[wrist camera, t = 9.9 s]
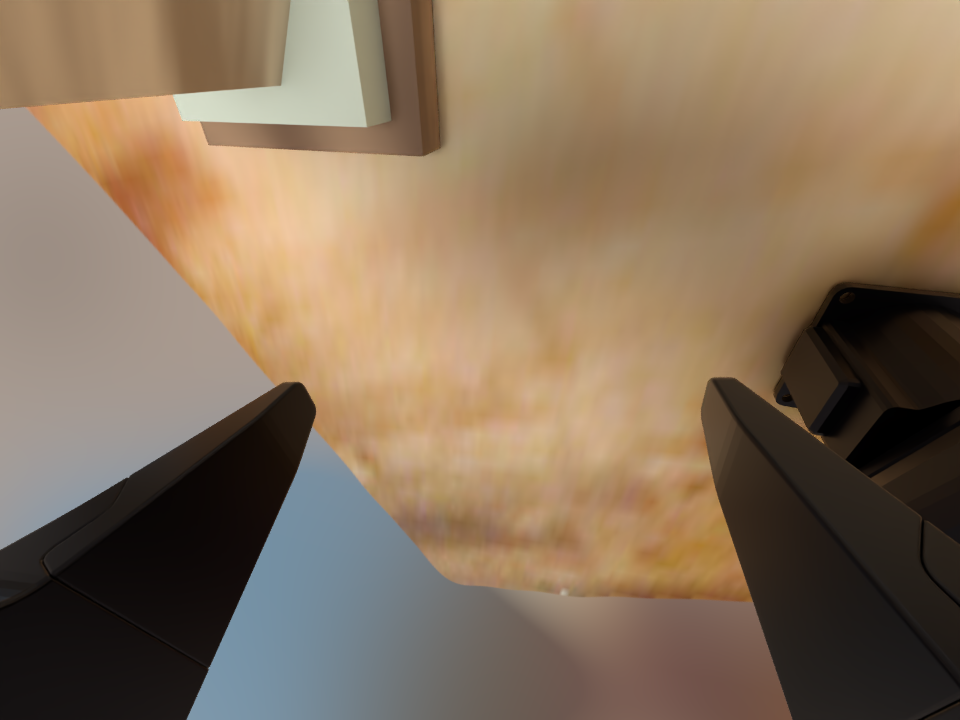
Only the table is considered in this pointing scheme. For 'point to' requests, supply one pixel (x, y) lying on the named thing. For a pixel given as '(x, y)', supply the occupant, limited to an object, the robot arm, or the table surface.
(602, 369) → the table surface
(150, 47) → the oak block
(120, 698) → the robot arm
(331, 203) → the table surface
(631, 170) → the table surface
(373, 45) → the sage slab
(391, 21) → the walnut base slab
